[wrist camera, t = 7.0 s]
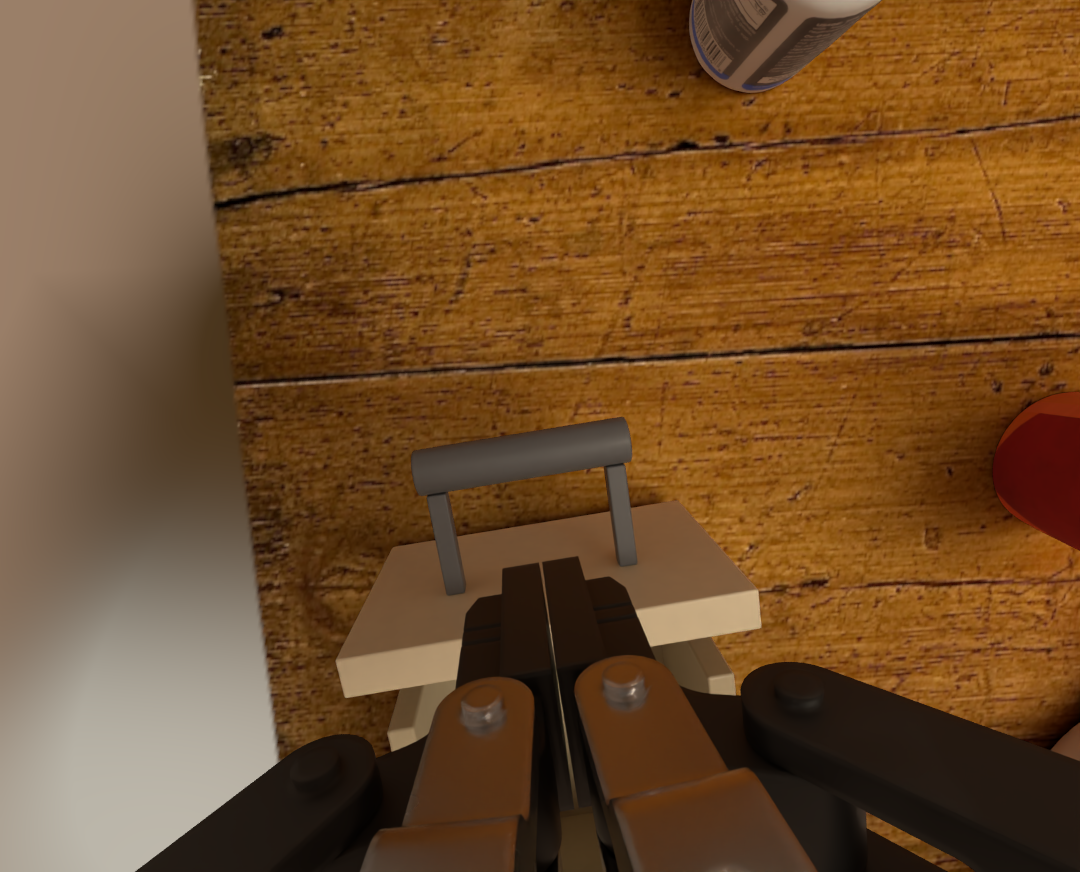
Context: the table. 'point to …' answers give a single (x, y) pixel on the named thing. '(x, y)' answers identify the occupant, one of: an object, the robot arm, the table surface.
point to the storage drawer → (476, 571)
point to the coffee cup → (1043, 467)
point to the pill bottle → (766, 37)
